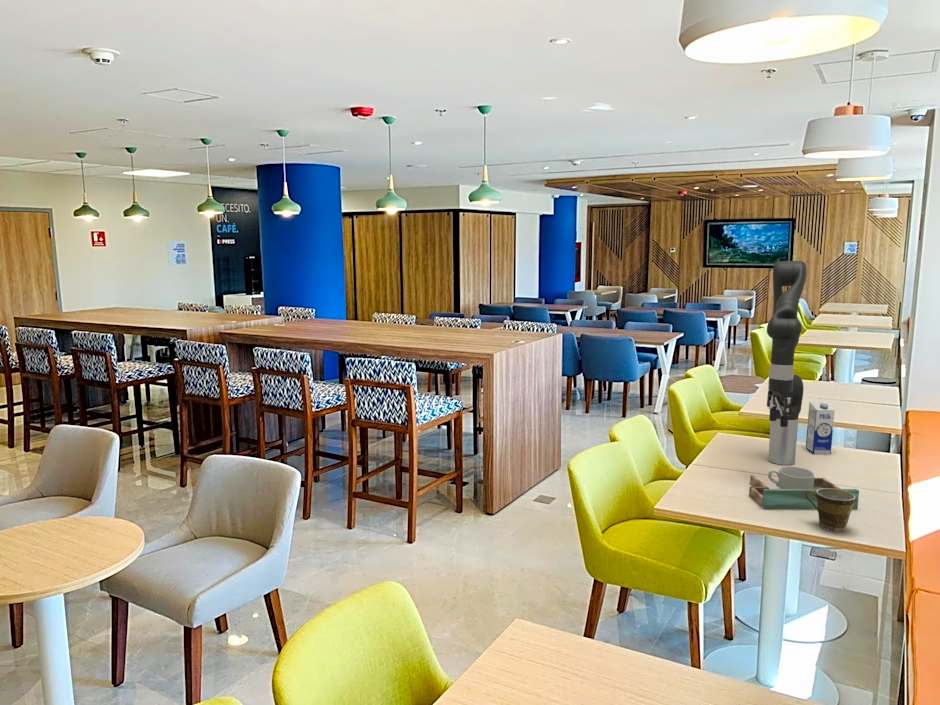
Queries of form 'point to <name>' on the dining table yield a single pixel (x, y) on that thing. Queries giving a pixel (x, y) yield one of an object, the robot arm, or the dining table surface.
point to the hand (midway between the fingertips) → (778, 423)
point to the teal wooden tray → (791, 495)
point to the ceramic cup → (833, 507)
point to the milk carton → (820, 428)
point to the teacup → (793, 477)
